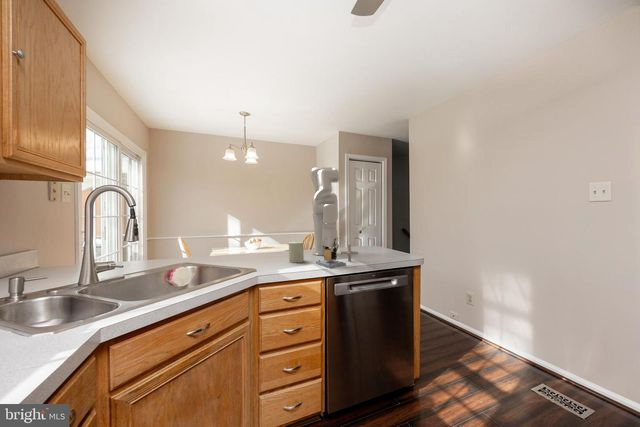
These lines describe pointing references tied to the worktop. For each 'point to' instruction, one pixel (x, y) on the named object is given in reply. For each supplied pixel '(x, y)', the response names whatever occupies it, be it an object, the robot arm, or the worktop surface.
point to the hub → (328, 254)
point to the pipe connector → (349, 252)
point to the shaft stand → (330, 263)
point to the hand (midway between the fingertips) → (330, 257)
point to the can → (296, 251)
